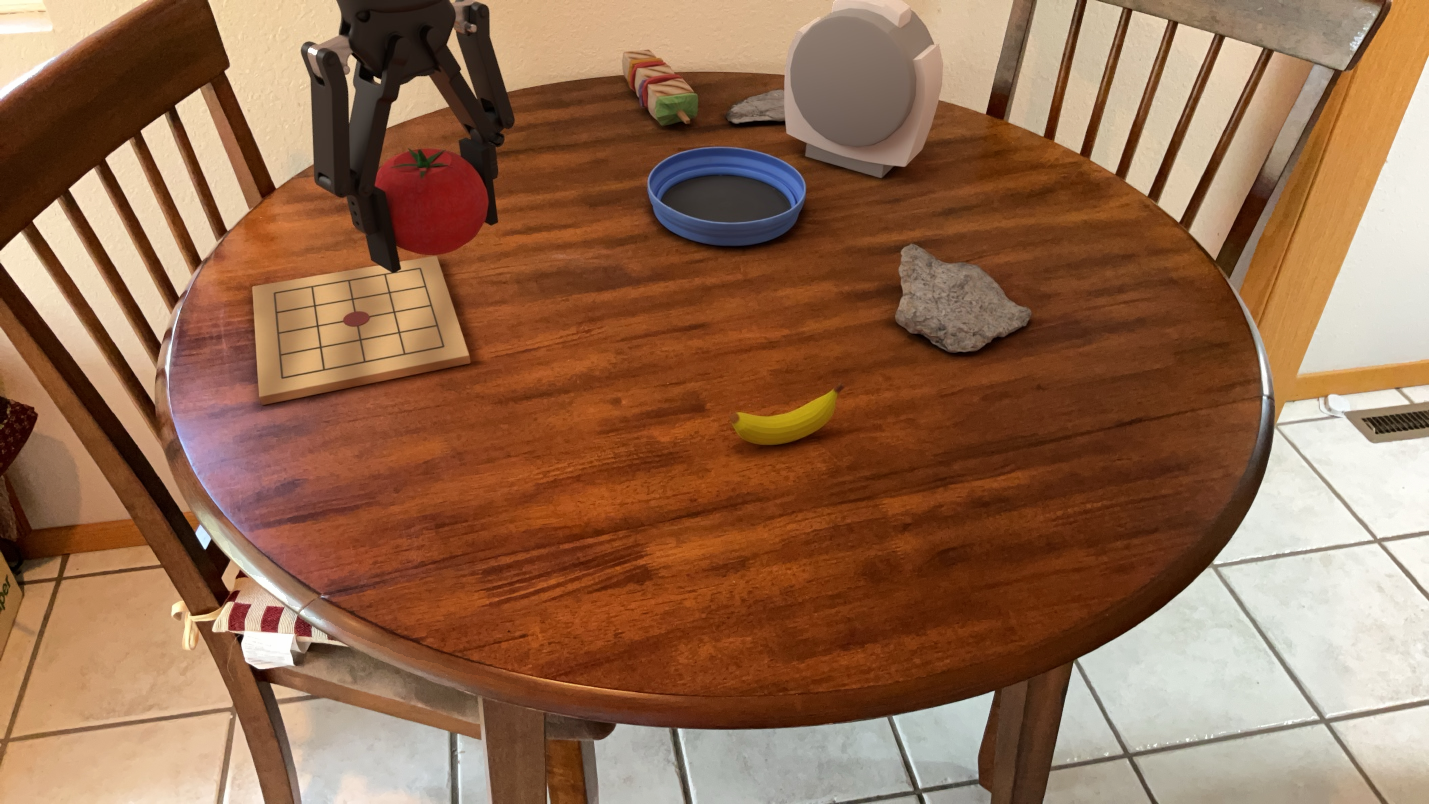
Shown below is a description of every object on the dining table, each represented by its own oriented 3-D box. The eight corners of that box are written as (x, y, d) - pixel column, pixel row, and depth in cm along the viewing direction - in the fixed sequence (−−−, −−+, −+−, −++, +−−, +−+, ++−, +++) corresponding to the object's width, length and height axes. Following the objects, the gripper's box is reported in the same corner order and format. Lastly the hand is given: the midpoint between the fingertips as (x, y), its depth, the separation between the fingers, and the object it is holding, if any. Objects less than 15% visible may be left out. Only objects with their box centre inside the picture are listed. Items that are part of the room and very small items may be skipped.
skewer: (615, 81, 140) (614, 46, 137) (657, 76, 142) (657, 42, 139) (663, 143, 126) (663, 105, 122) (710, 136, 127) (711, 99, 124)
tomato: (464, 282, 73) (448, 185, 68) (356, 262, 74) (334, 166, 69) (511, 224, 79) (500, 132, 74) (412, 207, 81) (395, 116, 76)
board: (261, 405, 84) (258, 396, 84) (254, 294, 97) (251, 285, 96) (470, 363, 90) (469, 354, 89) (438, 263, 102) (436, 254, 102)
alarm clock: (929, 165, 123) (961, 0, 110) (904, 191, 118) (934, 22, 104) (802, 129, 130) (818, -30, 117) (773, 153, 124) (785, -11, 111)
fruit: (832, 418, 85) (838, 374, 82) (842, 434, 84) (850, 389, 81) (723, 443, 83) (726, 398, 79) (732, 460, 81) (735, 414, 78)
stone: (731, 128, 129) (731, 122, 129) (715, 98, 136) (715, 93, 136) (880, 118, 133) (881, 112, 133) (857, 89, 140) (858, 84, 140)
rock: (941, 332, 89) (866, 240, 99) (926, 367, 92) (854, 274, 101) (1056, 323, 94) (974, 236, 104) (1038, 356, 97) (960, 268, 107)
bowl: (619, 226, 109) (618, 197, 107) (690, 161, 122) (690, 134, 120) (767, 267, 104) (770, 238, 101) (825, 194, 116) (828, 167, 114)
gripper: (261, -16, 54) (347, 318, 68) (548, -86, 67) (569, 207, 81) (190, -45, 57) (286, 278, 72) (476, -107, 70) (508, 178, 85)
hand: (436, 240), depth 77 cm, fingers closed on tomato, 9 cm apart
